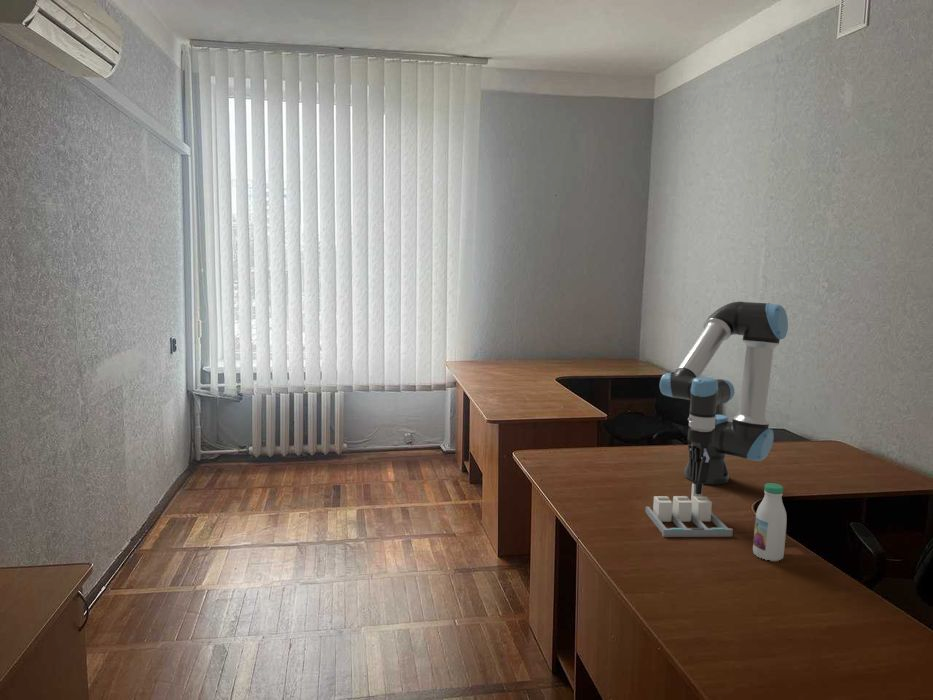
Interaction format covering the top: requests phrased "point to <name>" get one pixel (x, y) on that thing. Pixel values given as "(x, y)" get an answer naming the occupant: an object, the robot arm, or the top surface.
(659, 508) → the white block with handle
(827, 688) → the top surface
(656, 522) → the switch board
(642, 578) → the top surface
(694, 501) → the white rectangular block
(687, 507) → the white ridged block
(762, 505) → the milk bottle
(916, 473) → the top surface
